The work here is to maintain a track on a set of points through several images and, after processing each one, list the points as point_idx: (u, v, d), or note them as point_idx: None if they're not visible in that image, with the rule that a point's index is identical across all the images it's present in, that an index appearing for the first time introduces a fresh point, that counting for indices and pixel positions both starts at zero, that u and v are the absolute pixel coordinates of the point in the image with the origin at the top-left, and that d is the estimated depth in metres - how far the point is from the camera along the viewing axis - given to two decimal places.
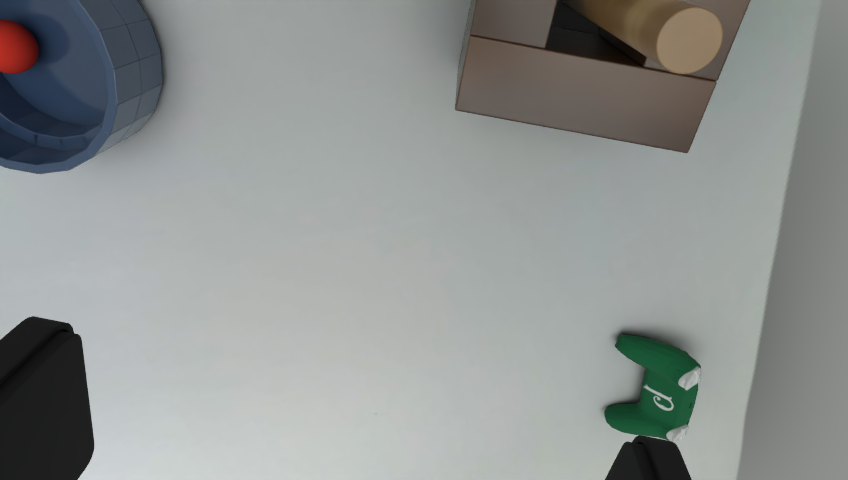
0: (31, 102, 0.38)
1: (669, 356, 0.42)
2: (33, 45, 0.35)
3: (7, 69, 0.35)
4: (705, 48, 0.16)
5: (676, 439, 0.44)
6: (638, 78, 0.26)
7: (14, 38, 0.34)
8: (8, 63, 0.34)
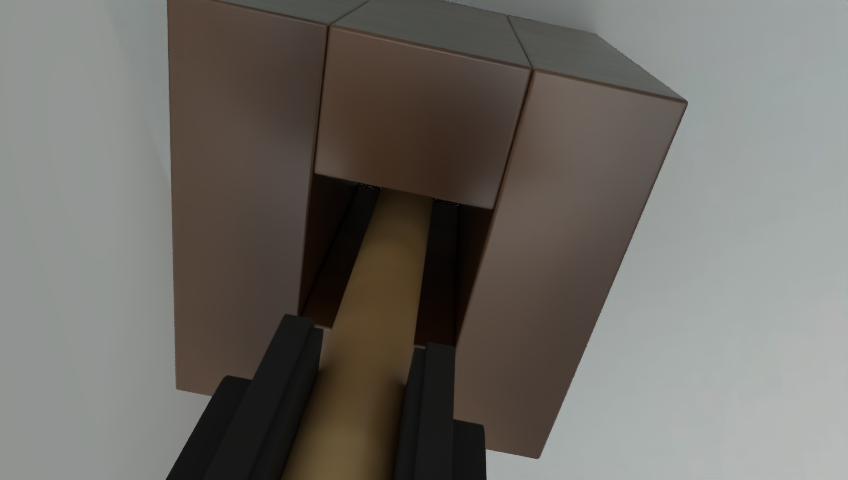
0: None
1: None
2: None
3: None
4: None
5: None
6: (513, 216, 0.14)
7: None
8: None
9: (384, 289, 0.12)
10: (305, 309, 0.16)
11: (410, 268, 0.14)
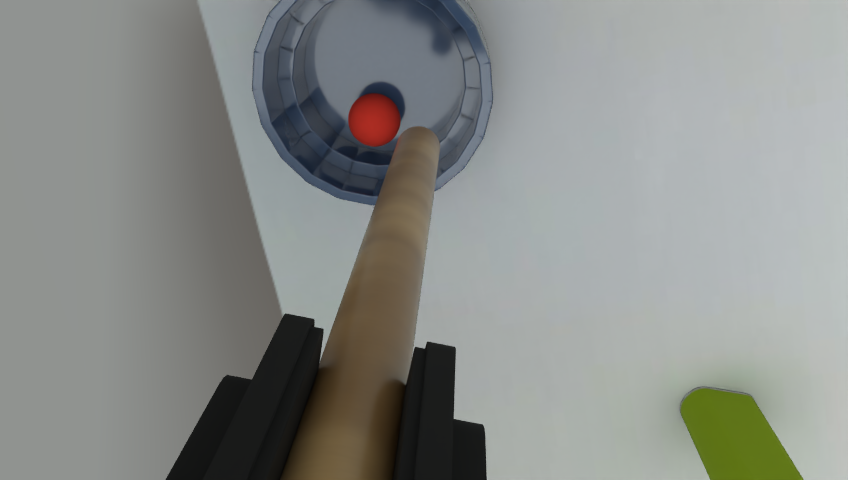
0: (437, 129, 0.36)
1: None
2: (373, 94, 0.34)
3: (391, 120, 0.34)
4: None
5: None
6: None
7: (361, 102, 0.33)
8: (384, 115, 0.33)
9: (384, 288, 0.12)
10: None
11: (410, 268, 0.14)
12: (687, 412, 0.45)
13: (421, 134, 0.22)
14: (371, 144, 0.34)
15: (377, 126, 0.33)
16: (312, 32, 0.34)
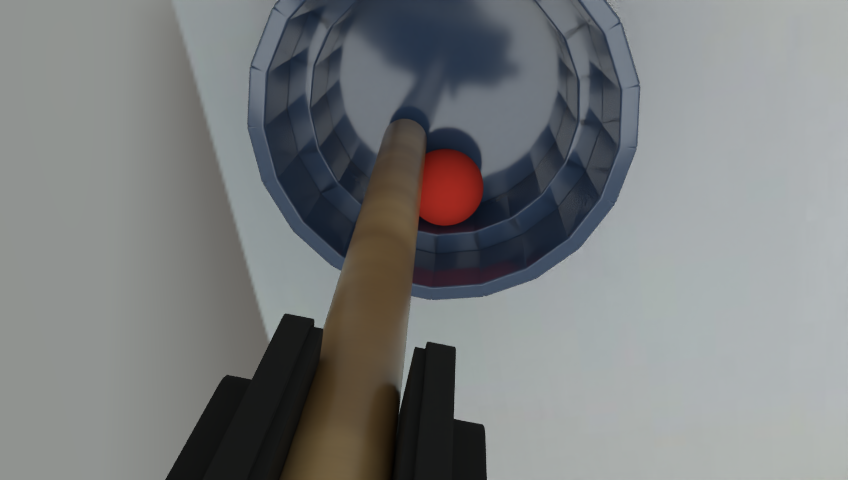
0: (520, 177, 0.25)
1: None
2: (445, 159, 0.22)
3: (480, 196, 0.23)
4: None
5: None
6: None
7: (439, 185, 0.22)
8: (473, 195, 0.23)
9: (373, 286, 0.12)
10: None
11: (399, 263, 0.14)
12: None
13: (406, 126, 0.22)
14: None
15: (466, 213, 0.23)
16: (339, 36, 0.23)
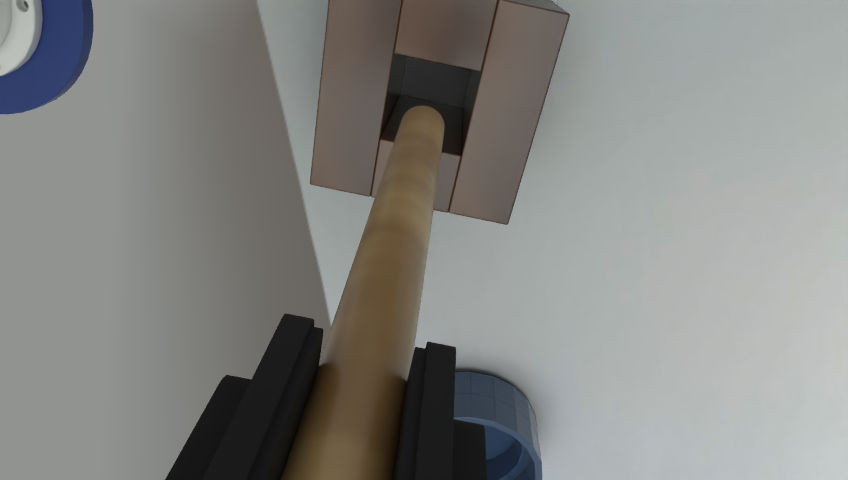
0: (499, 453, 0.54)
1: None
2: None
3: None
4: None
5: None
6: (490, 74, 0.28)
7: None
8: None
9: (378, 283, 0.12)
10: (382, 135, 0.31)
11: (407, 257, 0.13)
12: None
13: (421, 113, 0.22)
14: None
15: None
16: None
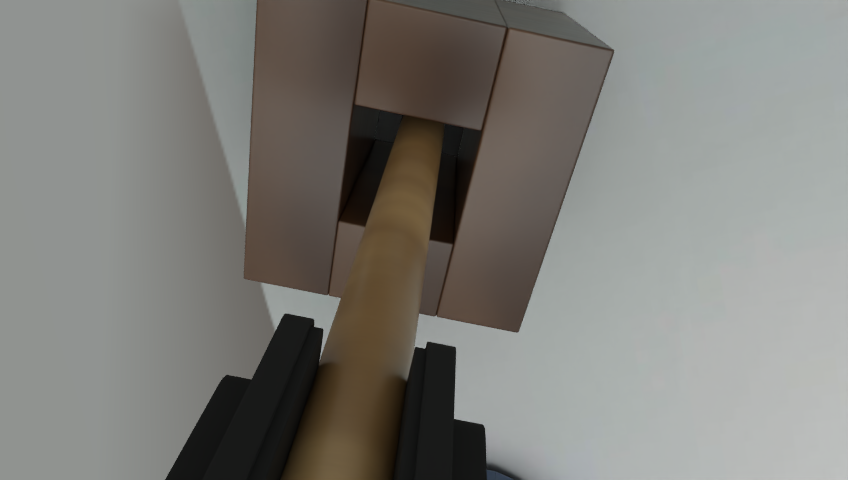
0: None
1: None
2: None
3: None
4: None
5: None
6: (495, 135, 0.20)
7: None
8: None
9: (377, 283, 0.12)
10: (343, 214, 0.22)
11: (407, 257, 0.13)
12: None
13: None
14: None
15: None
16: None
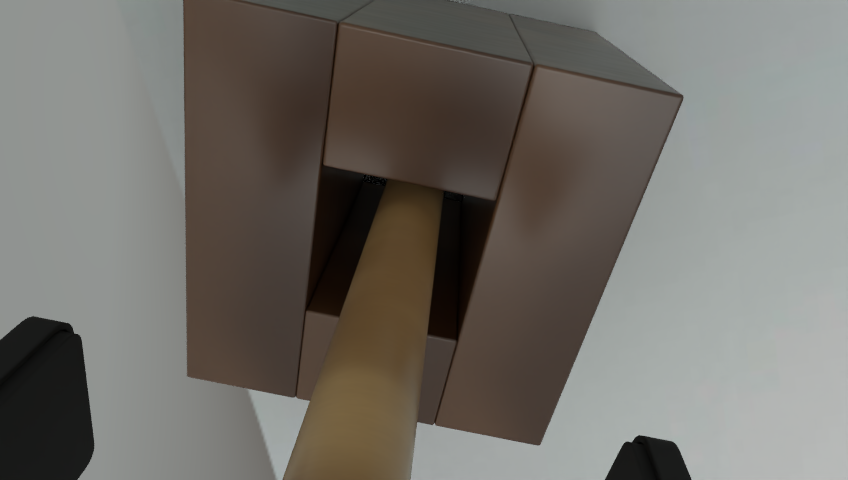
0: None
1: None
2: None
3: None
4: None
5: None
6: (515, 207, 0.14)
7: None
8: None
9: (395, 246, 0.13)
10: (313, 298, 0.17)
11: (421, 226, 0.14)
12: None
13: None
14: None
15: None
16: None
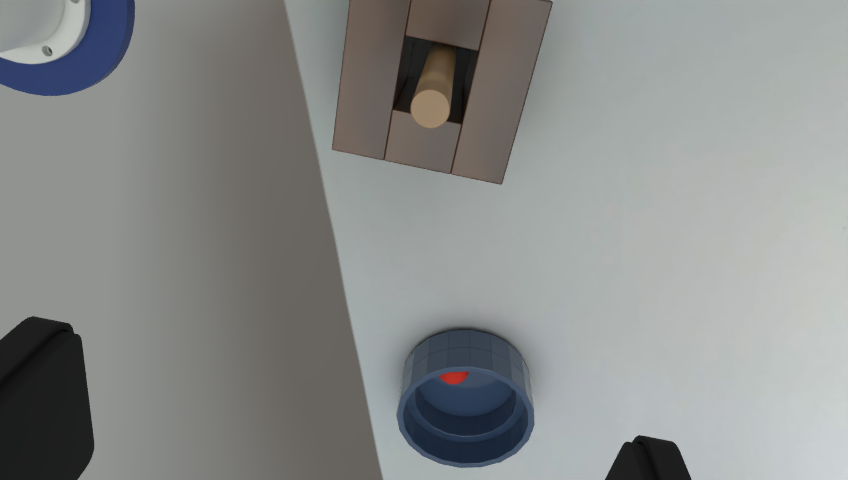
0: (496, 407, 0.59)
1: None
2: None
3: None
4: (432, 98, 0.25)
5: None
6: (486, 53, 0.34)
7: None
8: None
9: (439, 57, 0.32)
10: (394, 107, 0.36)
11: (448, 56, 0.33)
12: None
13: None
14: None
15: None
16: None
